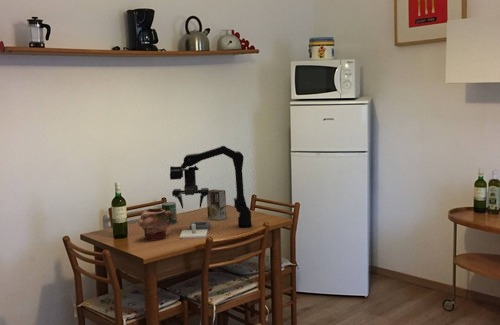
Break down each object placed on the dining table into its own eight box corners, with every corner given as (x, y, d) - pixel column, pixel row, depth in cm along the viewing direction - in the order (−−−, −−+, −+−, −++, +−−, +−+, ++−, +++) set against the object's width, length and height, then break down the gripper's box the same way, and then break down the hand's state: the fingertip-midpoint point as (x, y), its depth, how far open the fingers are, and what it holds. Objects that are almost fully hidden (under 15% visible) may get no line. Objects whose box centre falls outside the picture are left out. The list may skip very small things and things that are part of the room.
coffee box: (227, 218, 313) (225, 190, 311) (220, 220, 307) (219, 192, 305) (214, 216, 318) (212, 189, 316) (207, 218, 312) (206, 190, 310)
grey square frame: (210, 225, 296) (209, 221, 295) (208, 230, 286) (208, 225, 285) (191, 226, 296) (191, 221, 295) (189, 231, 286) (189, 226, 285)
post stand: (207, 231, 284) (207, 220, 284) (206, 237, 271) (205, 226, 271) (182, 232, 284) (182, 221, 283) (179, 238, 271) (179, 227, 270)
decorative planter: (165, 231, 287) (164, 205, 285) (181, 234, 279) (179, 207, 277) (133, 239, 272) (132, 211, 271) (148, 243, 264) (147, 215, 262)
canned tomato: (178, 221, 309) (177, 201, 307) (175, 224, 301) (174, 204, 300) (164, 221, 310) (163, 202, 308) (160, 224, 302) (159, 205, 300)
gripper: (170, 181, 279) (171, 212, 281) (206, 180, 279) (208, 210, 281) (172, 178, 290) (174, 207, 292) (208, 177, 290) (209, 206, 292)
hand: (191, 208), depth 289 cm, fingers open, 9 cm apart
